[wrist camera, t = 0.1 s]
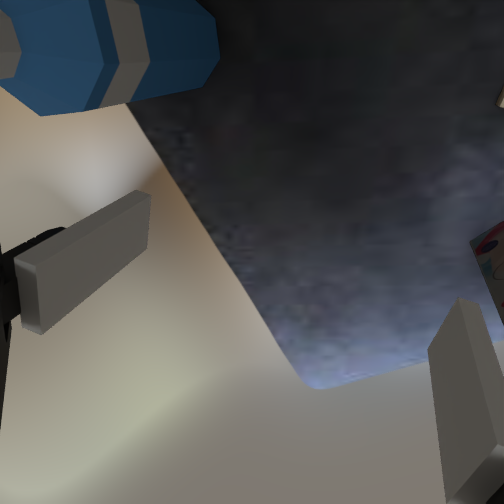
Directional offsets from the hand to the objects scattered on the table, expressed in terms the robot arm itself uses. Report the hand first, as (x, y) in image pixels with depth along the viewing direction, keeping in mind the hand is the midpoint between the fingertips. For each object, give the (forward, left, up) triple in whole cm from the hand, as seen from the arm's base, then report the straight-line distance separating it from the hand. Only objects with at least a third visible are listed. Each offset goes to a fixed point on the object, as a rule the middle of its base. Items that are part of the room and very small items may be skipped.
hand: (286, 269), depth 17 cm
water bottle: (-5, -19, -28) cm, 35 cm away
